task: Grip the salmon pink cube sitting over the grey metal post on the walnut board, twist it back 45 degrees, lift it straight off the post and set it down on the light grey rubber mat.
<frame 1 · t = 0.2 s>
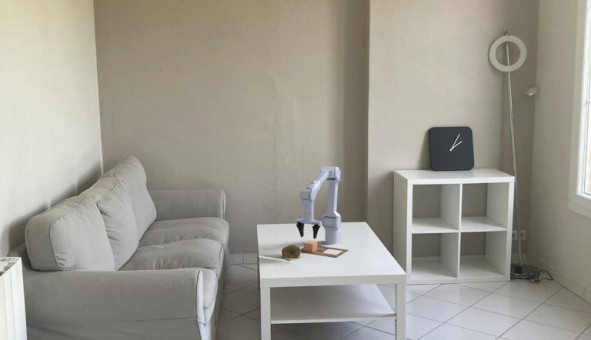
hand: (308, 237, 315), 10 cm above the table, tool pointing down, fingers open, 7 cm apart
fossil: (291, 259, 311), on the table
post board: (322, 252, 321), on the table
mat: (332, 254, 318), resting on post board
salmon pink cube: (310, 250, 322), point 1 cm above the table, touching post board
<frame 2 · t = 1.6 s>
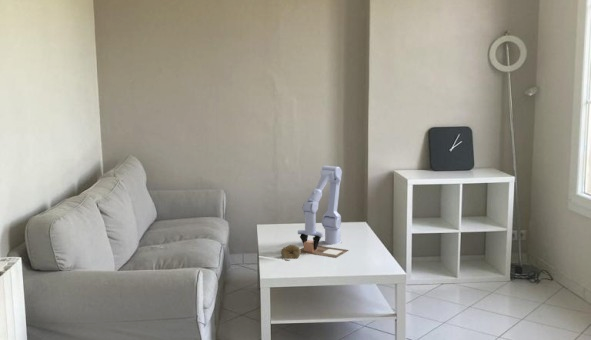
hand: (310, 248, 322), 2 cm above the table, tool pointing down, fingers closed on salmon pink cube, 5 cm apart
salmon pink cube: (310, 250, 322), point 1 cm above the table, touching gripper, post board
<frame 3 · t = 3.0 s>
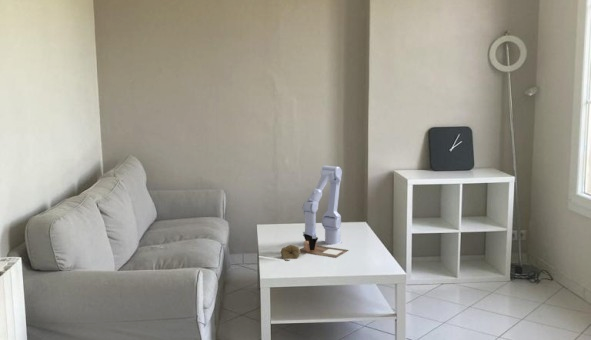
hand: (310, 248, 322), 2 cm above the table, tool pointing down, fingers closed on salmon pink cube, 5 cm apart
salmon pink cube: (310, 250, 322), point 1 cm above the table, touching gripper
everything else where it was.
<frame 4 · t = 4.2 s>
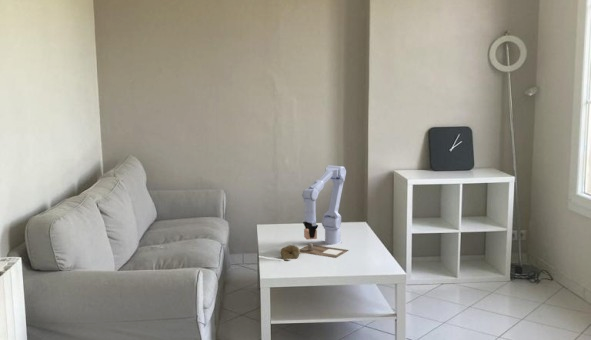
hand: (310, 236, 321), 9 cm above the table, tool pointing down, fingers closed on salmon pink cube, 5 cm apart
salmon pink cube: (310, 237, 321), point 8 cm above the table, touching gripper
everything else where it was.
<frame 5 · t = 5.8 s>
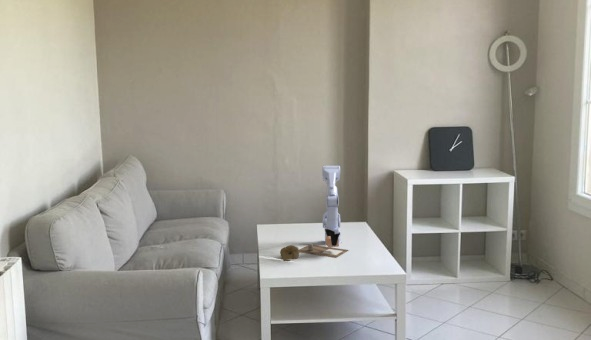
hand: (332, 243, 317), 6 cm above the table, tool pointing down, fingers closed on salmon pink cube, 5 cm apart
salmon pink cube: (332, 245, 317), point 5 cm above the table, touching gripper
when the fingers open (3 cm above the table, at t = 6.8 s): salmon pink cube stays where it is, resting on mat.
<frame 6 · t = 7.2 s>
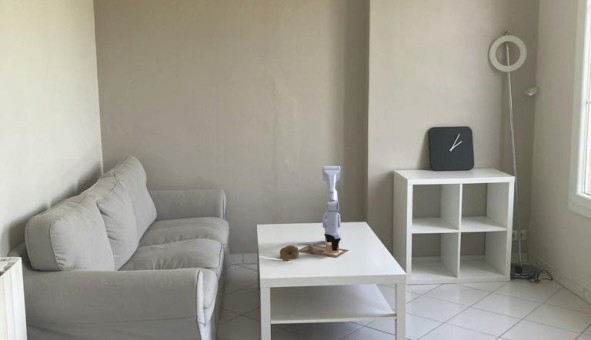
hand: (332, 248, 317), 3 cm above the table, tool pointing down, fingers open, 7 cm apart
salmon pink cube: (332, 251, 318), point 1 cm above the table, touching mat
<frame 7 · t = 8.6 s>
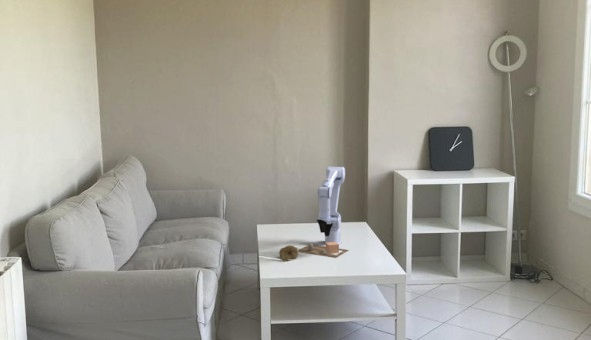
hand: (324, 234, 322), 9 cm above the table, tool pointing down, fingers open, 7 cm apart
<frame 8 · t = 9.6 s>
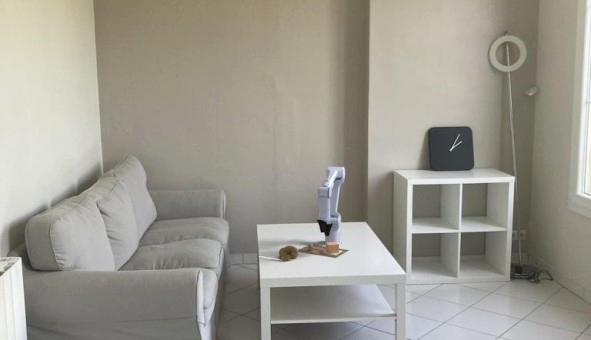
hand: (324, 234, 322), 9 cm above the table, tool pointing down, fingers open, 7 cm apart
at the end: salmon pink cube inside the target area (0.1 cm from its centre), point 1.3 cm above the table; salmon pink cube tilted 0°; the gripper is holding nothing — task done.
